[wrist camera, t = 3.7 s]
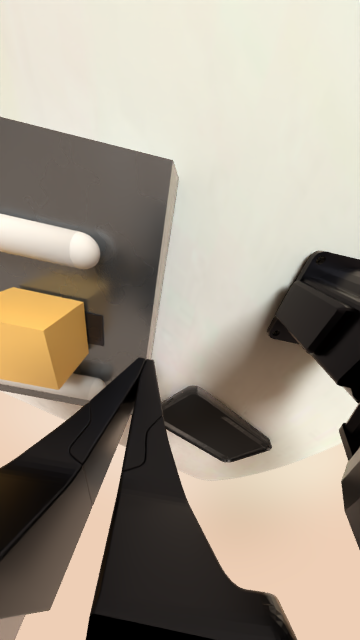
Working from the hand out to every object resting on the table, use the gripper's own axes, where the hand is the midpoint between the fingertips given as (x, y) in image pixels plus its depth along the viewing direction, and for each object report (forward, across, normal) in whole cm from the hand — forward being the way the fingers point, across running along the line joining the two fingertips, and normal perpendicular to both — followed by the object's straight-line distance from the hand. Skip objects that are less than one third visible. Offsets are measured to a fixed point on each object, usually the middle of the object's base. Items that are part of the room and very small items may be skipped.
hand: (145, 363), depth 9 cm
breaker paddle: (+2, +6, 0) cm, 7 cm away
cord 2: (+2, +8, -5) cm, 10 cm away
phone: (+6, -9, +14) cm, 17 cm away
